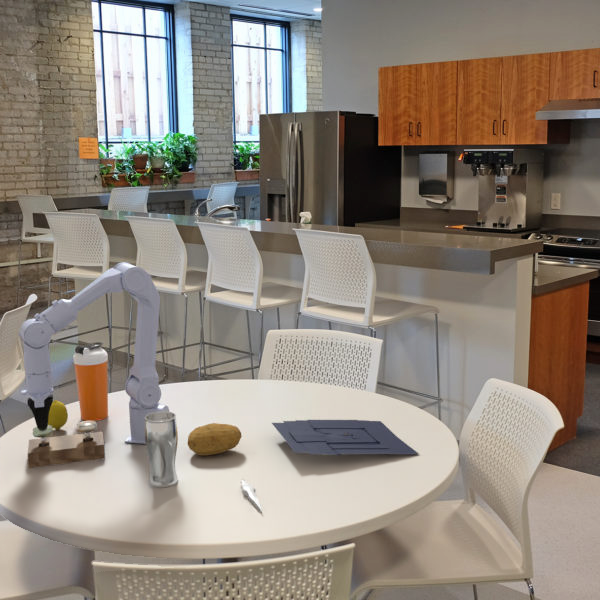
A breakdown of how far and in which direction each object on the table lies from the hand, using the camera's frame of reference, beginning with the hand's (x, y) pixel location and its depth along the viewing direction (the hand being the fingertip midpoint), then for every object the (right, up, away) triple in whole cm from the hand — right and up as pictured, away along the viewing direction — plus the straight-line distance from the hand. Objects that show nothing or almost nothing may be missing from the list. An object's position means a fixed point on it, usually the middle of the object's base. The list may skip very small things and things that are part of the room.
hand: (42, 427), depth 189 cm
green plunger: (0, -5, +1) cm, 5 cm away
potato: (+40, -7, +4) cm, 41 cm away
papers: (+70, -6, +7) cm, 71 cm away
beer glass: (+30, -10, -12) cm, 34 cm away
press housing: (+5, -7, +3) cm, 9 cm away
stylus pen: (+50, -12, -21) cm, 56 cm away
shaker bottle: (+5, -2, +30) cm, 30 cm away
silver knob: (+10, -4, +4) cm, 11 cm away
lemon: (-3, -4, +20) cm, 21 cm away
